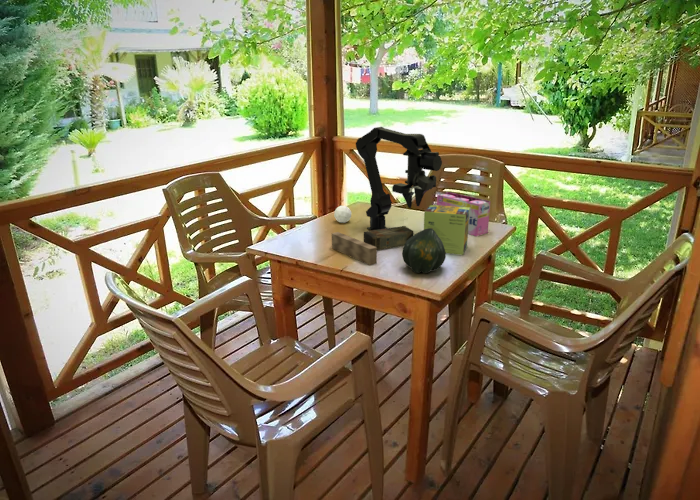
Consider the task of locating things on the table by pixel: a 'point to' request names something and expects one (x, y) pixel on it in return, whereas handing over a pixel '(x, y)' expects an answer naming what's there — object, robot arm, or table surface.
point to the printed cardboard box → (388, 237)
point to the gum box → (476, 212)
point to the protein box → (449, 226)
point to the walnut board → (354, 248)
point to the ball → (342, 214)
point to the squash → (424, 251)
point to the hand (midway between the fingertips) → (413, 207)
